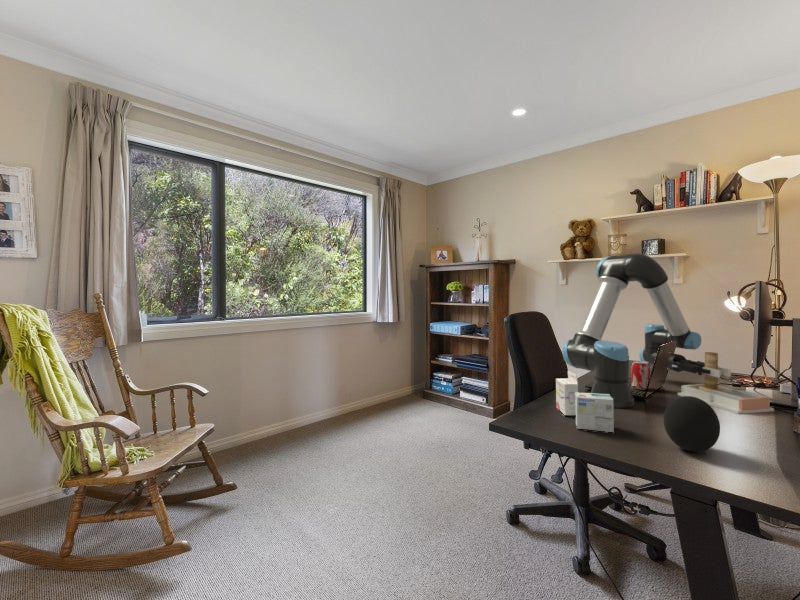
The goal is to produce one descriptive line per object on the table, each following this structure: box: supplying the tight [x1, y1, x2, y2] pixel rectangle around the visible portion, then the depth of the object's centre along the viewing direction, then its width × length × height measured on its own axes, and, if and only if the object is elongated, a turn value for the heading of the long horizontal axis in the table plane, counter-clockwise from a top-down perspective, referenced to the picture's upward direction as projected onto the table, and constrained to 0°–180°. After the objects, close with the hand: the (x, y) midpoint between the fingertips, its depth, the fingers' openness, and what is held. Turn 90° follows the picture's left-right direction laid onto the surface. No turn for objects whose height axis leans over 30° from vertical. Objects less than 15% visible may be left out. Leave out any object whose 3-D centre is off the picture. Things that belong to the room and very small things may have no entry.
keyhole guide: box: [677, 383, 775, 415], centre depth 145 cm, size 15×24×5 cm, turn 8°
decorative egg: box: [663, 396, 721, 453], centre depth 104 cm, size 12×12×15 cm
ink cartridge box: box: [555, 370, 579, 416], centre depth 137 cm, size 9×5×15 cm, turn 179°
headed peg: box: [699, 351, 724, 393], centre depth 149 cm, size 8×8×16 cm
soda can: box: [630, 360, 651, 388], centre depth 165 cm, size 7×7×12 cm
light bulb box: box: [575, 391, 615, 434], centre depth 122 cm, size 11×7×11 cm, turn 71°
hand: (724, 373), depth 144 cm, fingers closed on headed peg, 4 cm apart
